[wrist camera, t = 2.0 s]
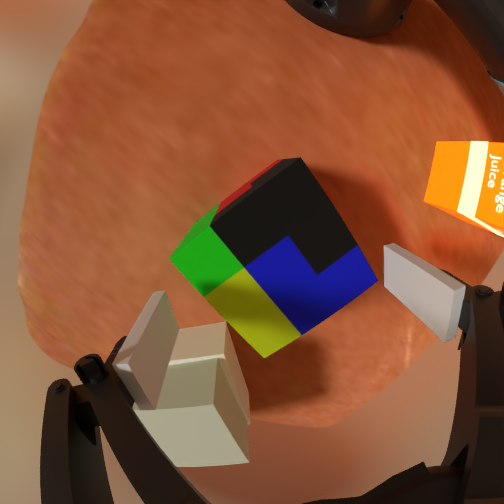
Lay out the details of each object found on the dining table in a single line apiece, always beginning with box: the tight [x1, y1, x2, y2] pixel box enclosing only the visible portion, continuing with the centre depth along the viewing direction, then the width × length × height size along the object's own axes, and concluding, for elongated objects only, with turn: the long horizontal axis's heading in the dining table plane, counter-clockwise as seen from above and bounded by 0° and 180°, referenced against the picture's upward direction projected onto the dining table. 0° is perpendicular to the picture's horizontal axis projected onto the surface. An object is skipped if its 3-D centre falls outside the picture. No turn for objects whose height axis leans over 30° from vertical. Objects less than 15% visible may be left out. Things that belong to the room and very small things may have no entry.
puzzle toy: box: [169, 157, 378, 358], centre depth 22 cm, size 10×10×10 cm
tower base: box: [169, 322, 250, 425], centre depth 29 cm, size 12×12×6 cm
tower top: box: [132, 358, 249, 467], centre depth 23 cm, size 11×11×6 cm
